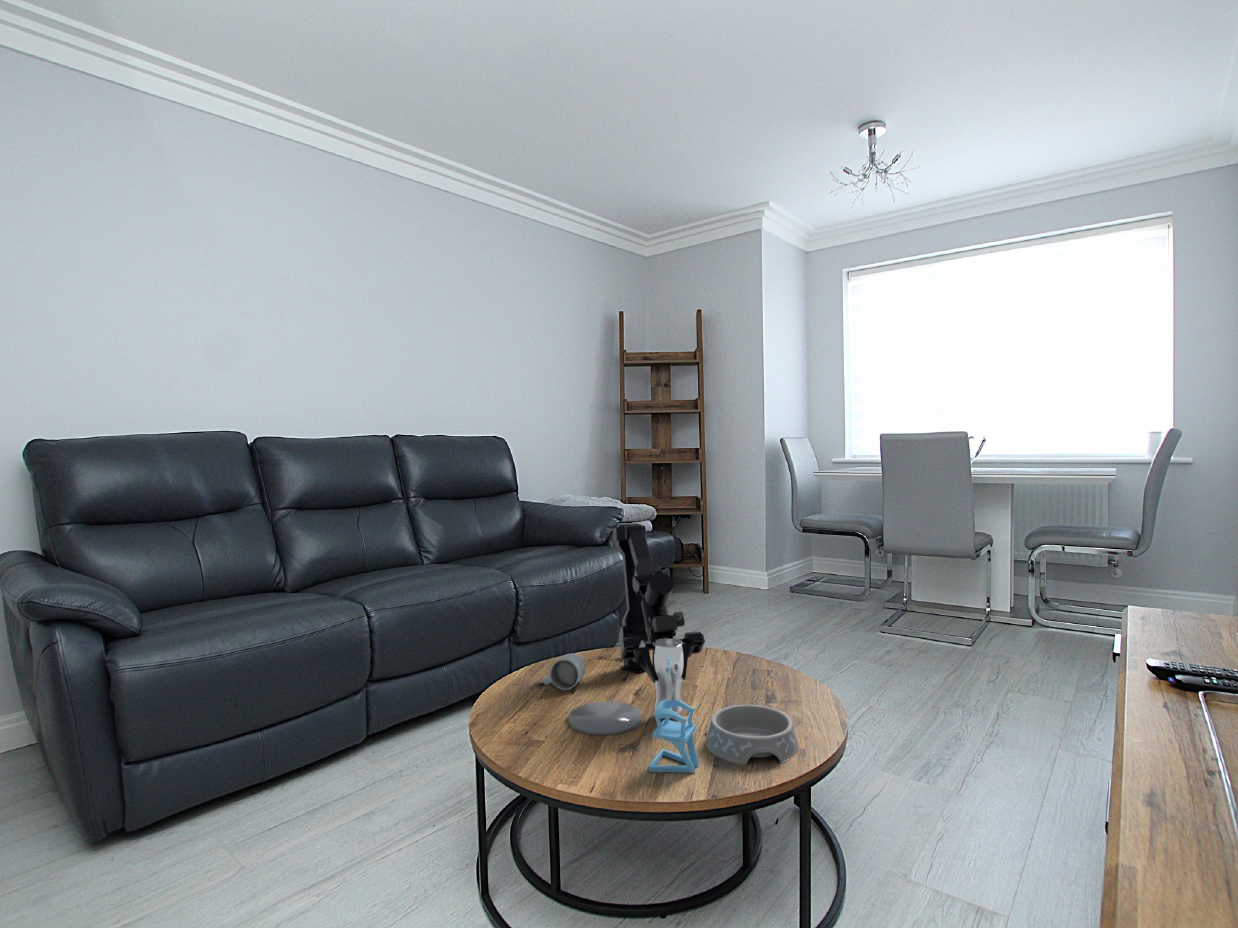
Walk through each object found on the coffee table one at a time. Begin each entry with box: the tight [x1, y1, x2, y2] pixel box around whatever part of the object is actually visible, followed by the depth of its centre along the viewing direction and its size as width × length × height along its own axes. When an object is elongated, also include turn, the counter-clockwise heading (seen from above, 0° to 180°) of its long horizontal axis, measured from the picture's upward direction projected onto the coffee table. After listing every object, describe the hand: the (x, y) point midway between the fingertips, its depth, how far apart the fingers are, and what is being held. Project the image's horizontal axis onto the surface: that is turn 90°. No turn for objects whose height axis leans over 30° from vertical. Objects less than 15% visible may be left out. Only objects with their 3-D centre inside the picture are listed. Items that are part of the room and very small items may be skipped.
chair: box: [647, 700, 700, 774], centre depth 129 cm, size 8×8×12 cm
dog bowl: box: [705, 704, 800, 765], centre depth 138 cm, size 17×18×5 cm
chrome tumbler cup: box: [651, 637, 684, 714], centre depth 152 cm, size 7×7×15 cm
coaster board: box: [568, 700, 642, 736], centre depth 151 cm, size 16×16×1 cm
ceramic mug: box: [542, 652, 587, 691], centre depth 174 cm, size 11×8×8 cm
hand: (669, 680), depth 150 cm, fingers closed on chrome tumbler cup, 6 cm apart
